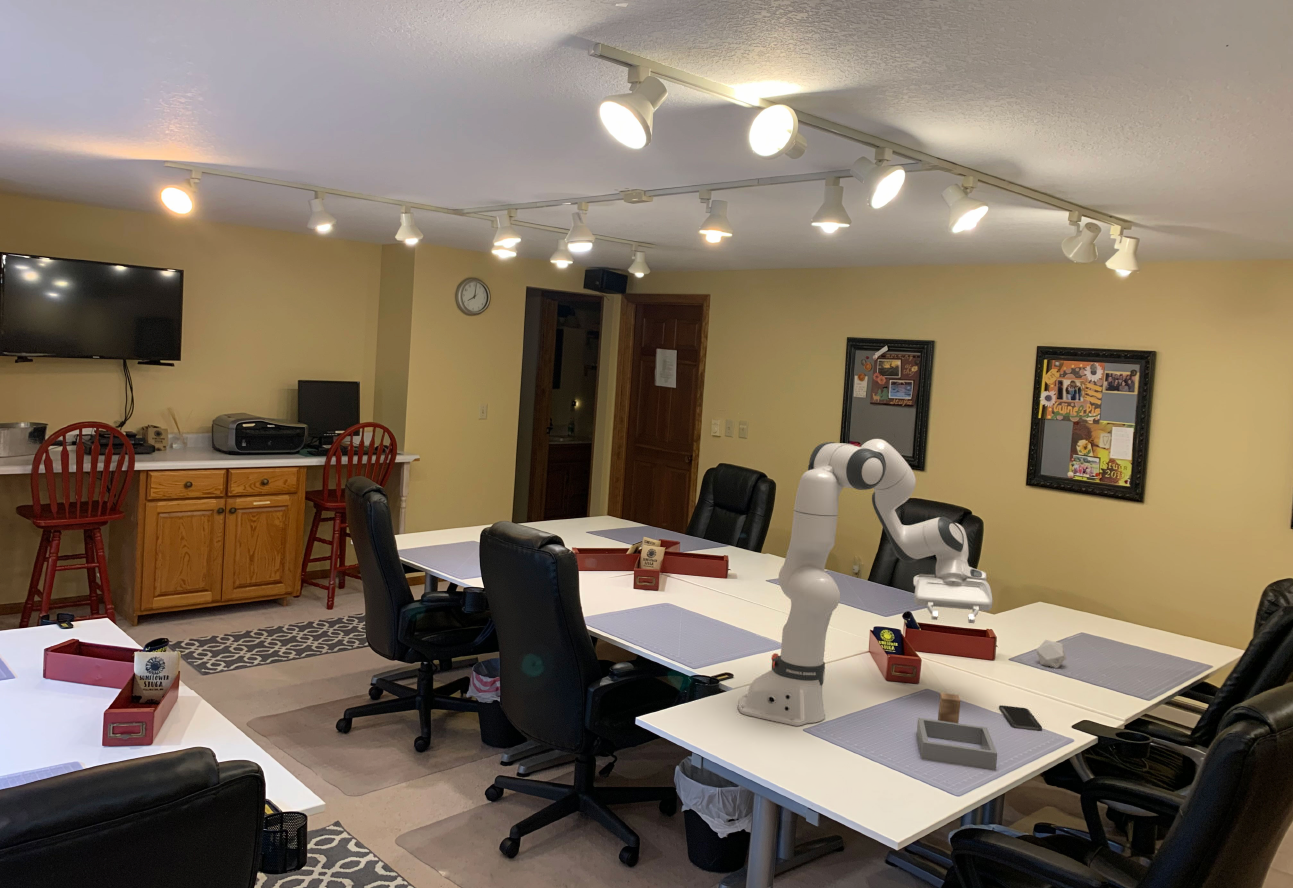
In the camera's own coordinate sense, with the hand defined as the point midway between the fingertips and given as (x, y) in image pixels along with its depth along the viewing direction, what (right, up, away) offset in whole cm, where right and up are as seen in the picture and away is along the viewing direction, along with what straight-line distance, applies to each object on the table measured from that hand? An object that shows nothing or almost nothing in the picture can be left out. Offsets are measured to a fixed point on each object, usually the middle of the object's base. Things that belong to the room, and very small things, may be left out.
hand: (953, 620), depth 245 cm
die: (+49, -25, +52) cm, 75 cm away
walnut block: (-5, -26, -9) cm, 28 cm away
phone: (+18, -27, 0) cm, 32 cm away
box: (-8, -27, -25) cm, 37 cm away
